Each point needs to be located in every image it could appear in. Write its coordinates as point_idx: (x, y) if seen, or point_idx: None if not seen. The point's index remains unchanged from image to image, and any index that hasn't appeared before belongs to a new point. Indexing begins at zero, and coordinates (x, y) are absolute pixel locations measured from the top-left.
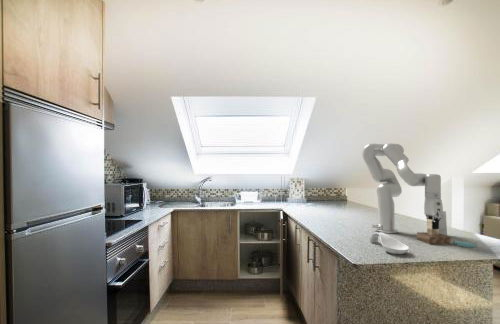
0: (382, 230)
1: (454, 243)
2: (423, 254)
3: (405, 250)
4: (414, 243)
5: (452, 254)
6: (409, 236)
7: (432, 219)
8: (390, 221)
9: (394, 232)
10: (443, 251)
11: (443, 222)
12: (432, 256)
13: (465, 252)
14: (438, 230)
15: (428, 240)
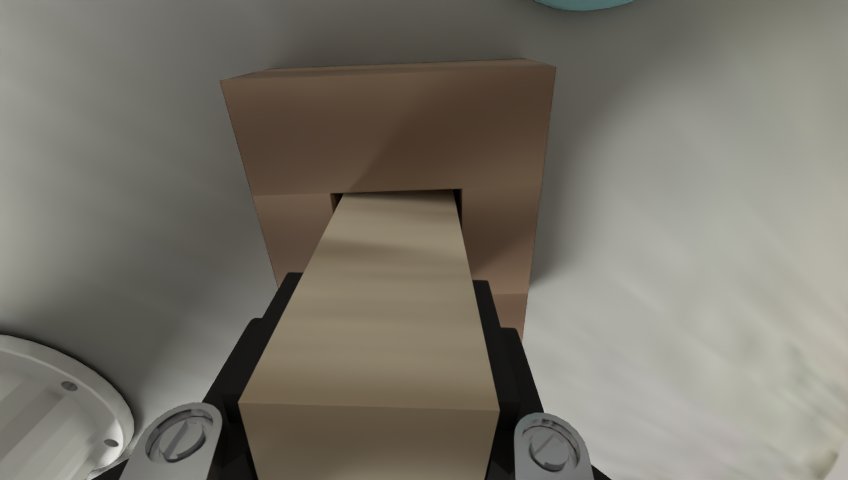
0: (99, 458)
1: (543, 1)
2: (713, 457)
3: None
4: None
5: (806, 306)
6: (204, 314)
7: (305, 468)
8: None
9: (106, 388)
10: (717, 320)
11: None
12: (766, 437)
13: (836, 145)
14: (462, 250)
15: None
